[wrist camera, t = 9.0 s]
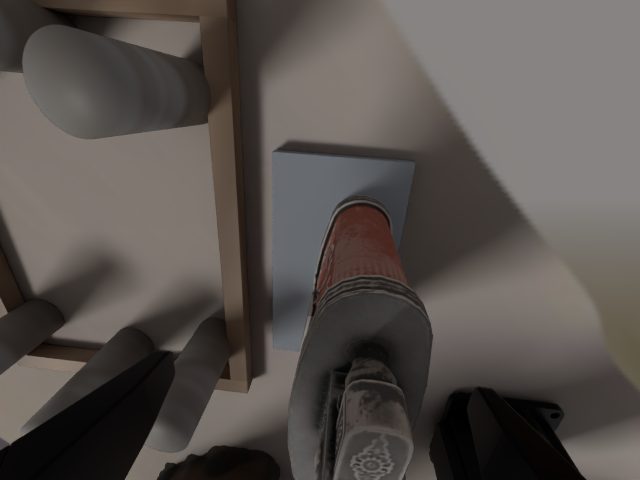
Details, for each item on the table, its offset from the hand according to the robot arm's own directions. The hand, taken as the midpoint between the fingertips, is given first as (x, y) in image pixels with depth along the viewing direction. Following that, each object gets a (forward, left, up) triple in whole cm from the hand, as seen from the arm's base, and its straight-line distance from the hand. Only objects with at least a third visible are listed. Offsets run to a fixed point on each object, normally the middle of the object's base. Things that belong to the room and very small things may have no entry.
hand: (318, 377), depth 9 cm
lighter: (-1, 0, -7) cm, 7 cm away
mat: (0, 0, -7) cm, 7 cm away
